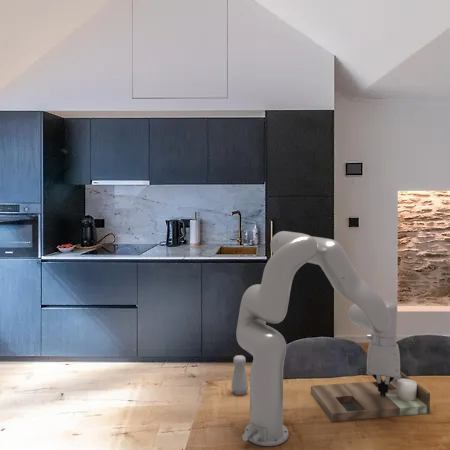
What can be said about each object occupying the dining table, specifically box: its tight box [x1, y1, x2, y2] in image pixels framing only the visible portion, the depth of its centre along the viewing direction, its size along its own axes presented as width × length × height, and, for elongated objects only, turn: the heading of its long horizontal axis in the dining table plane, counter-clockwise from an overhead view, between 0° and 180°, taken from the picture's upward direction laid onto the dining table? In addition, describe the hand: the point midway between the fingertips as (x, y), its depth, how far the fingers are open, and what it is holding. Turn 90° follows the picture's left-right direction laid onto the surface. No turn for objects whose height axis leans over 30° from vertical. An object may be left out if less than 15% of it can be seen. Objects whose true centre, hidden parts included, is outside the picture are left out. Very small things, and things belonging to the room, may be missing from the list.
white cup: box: [397, 378, 418, 401], centre depth 150 cm, size 6×6×5 cm
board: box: [310, 370, 431, 422], centre depth 152 cm, size 32×20×6 cm, turn 98°
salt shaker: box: [231, 354, 249, 396], centre depth 160 cm, size 6×6×13 cm
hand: (383, 394), depth 152 cm, fingers closed
